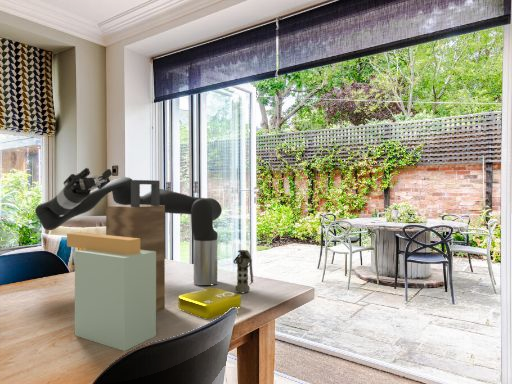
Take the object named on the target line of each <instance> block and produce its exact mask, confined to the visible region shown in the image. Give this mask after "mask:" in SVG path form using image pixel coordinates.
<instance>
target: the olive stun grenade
mask: <svg viewBox="0 0 512 384" xmlns="http://www.w3.org/2000/svg"><path fill="white" fill-rule="evenodd" d="M237 253H239V254H238V255H236V257H235V258H234V259H233V263H234V264H235V265H236V267H237V269H236V270H237V271H236V273H237V276H236V281H237V282H236V286H235V292H236V291H237V293H238V292H247V291H248V292H250V291H249V290H251V289H250V288H251V287H250V285H252V283H254V274H253V273H254V271H253V259H252V255H251V254H250V252H249V250H248V249H240V250H238V251H237ZM248 274H250V283H249V275H248ZM248 292H247V293H248Z"/></svg>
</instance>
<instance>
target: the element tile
mask: <svg viewBox="0 0 512 384" xmlns="http://www.w3.org/2000/svg"><path fill="white" fill-rule="evenodd" d="M177 298H178V300H177V301H178V306H177V307H178V308H179V309H181V310H184V311H187V312H189V313H188V314H190V313H192V314H191V315H193V314H194V315H193V316H195V315H197V316H196V317H198V316H200V317H199V318H201V317H202V319H204V318H206V320H210V319H211V318H212V319H215V318H218V317H220V316H223V315H225V314H224V313H225V312H227V311H228V310H229V309H230V308H232V307H237V308H238V307H240V306H241V307H242V295H241V293H238V292H237V293H236V292H233V291H228V290H225V289H222V288H221V289H220V288H217V287H213V286H208V287H206V288H202V289H199V290H198V289H197V290H194V291H191V292H187V293H183V294H179V295H178V297H177ZM179 309H178V310H179ZM181 310H180V311H181ZM184 311H183V312H184ZM187 312H186V313H187ZM212 319H211V320H212Z"/></svg>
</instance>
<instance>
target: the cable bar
mask: <svg viewBox="0 0 512 384" xmlns="http://www.w3.org/2000/svg"><path fill="white" fill-rule="evenodd" d="M66 247H68V248H69V247H71V248H76V249H82V250H84V249H90V250H98V251H105V252H112V253H119V254H127V255H131V254H136V253H140V238H130V237H121V236H111V235H106V234H102V233H101V234H99V233H91V232H81V231H77V232H69V233H66Z"/></svg>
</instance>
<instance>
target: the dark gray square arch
mask: <svg viewBox="0 0 512 384" xmlns="http://www.w3.org/2000/svg"><path fill="white" fill-rule="evenodd" d="M141 185H151V186H150V189H151V190H150V191H151V206H160V189H161V188H160V187H161V186H160V185H161V184H160V180H153V179H152V180H151V179H149V180H148V179H147V180H146V179H145V180H143V179H132V180H131V207H140V196H141V194H140V193H141V190H140V189H141V187H140V186H141Z"/></svg>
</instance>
